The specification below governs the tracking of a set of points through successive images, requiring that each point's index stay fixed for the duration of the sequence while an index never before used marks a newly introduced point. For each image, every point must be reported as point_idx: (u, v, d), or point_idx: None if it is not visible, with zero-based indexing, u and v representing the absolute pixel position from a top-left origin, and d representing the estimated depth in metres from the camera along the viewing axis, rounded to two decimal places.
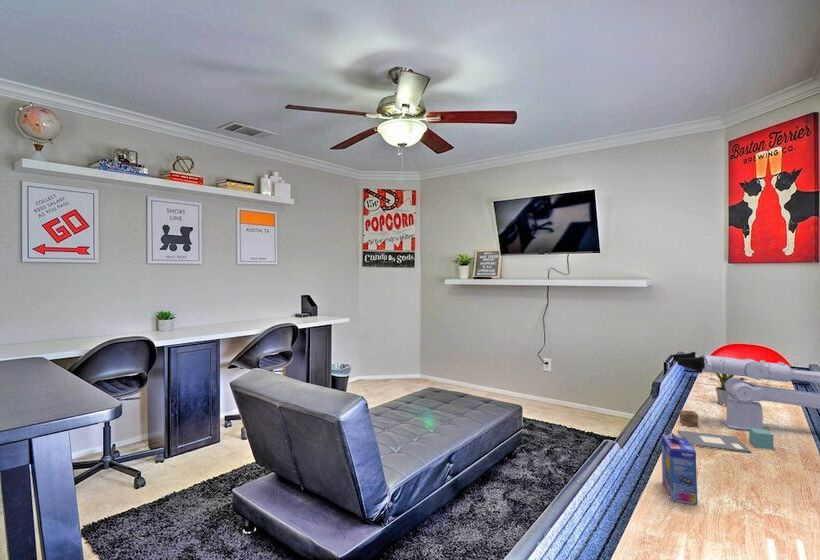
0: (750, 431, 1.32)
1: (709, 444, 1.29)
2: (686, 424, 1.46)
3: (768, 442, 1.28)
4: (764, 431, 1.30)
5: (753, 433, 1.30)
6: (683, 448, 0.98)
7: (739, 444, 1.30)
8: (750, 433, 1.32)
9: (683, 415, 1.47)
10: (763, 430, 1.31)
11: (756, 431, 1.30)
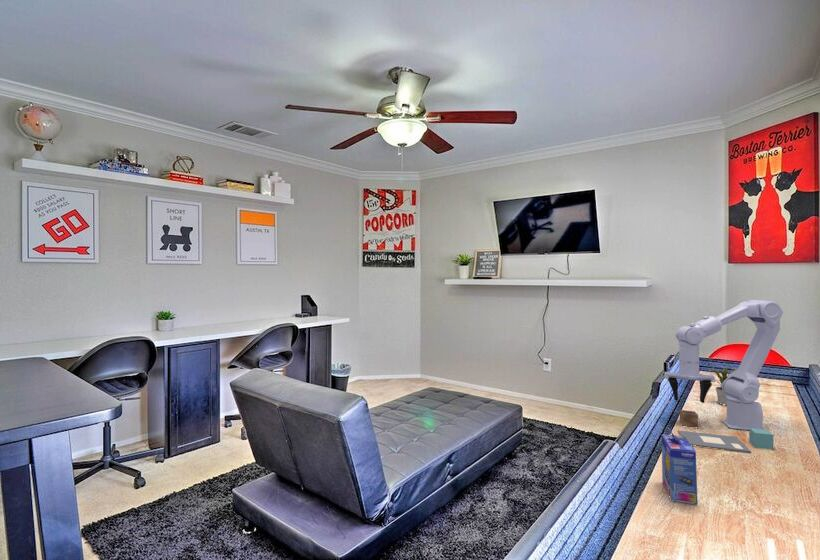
0: (750, 431, 1.32)
1: (709, 444, 1.29)
2: (686, 424, 1.46)
3: (768, 442, 1.28)
4: (764, 431, 1.30)
5: (754, 433, 1.30)
6: (683, 448, 0.98)
7: (739, 444, 1.30)
8: (750, 433, 1.32)
9: (683, 415, 1.47)
10: (763, 430, 1.31)
11: (756, 431, 1.30)
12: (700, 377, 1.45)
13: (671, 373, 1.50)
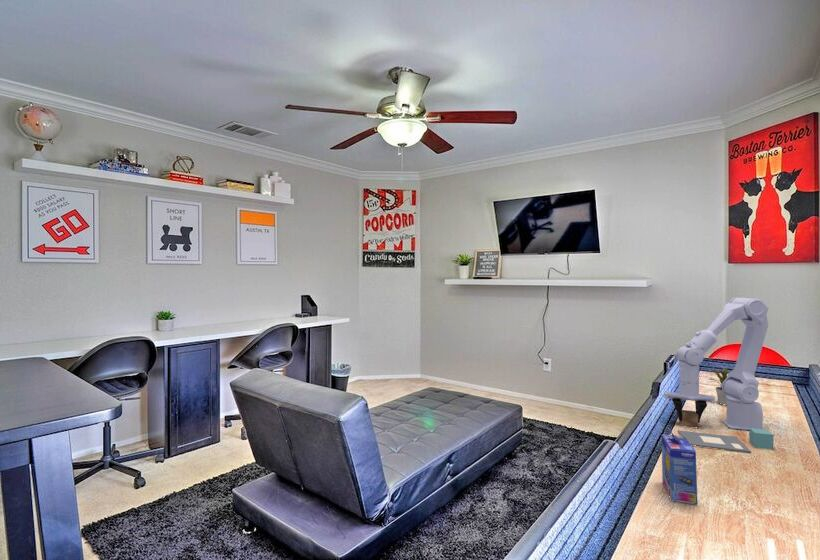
0: (750, 431, 1.32)
1: (709, 444, 1.29)
2: (686, 424, 1.46)
3: (768, 442, 1.28)
4: (764, 431, 1.30)
5: (753, 433, 1.30)
6: (683, 448, 0.98)
7: (739, 444, 1.30)
8: (750, 433, 1.32)
9: (683, 415, 1.47)
10: (763, 430, 1.31)
11: (756, 431, 1.30)
12: (700, 398, 1.45)
13: (671, 393, 1.50)
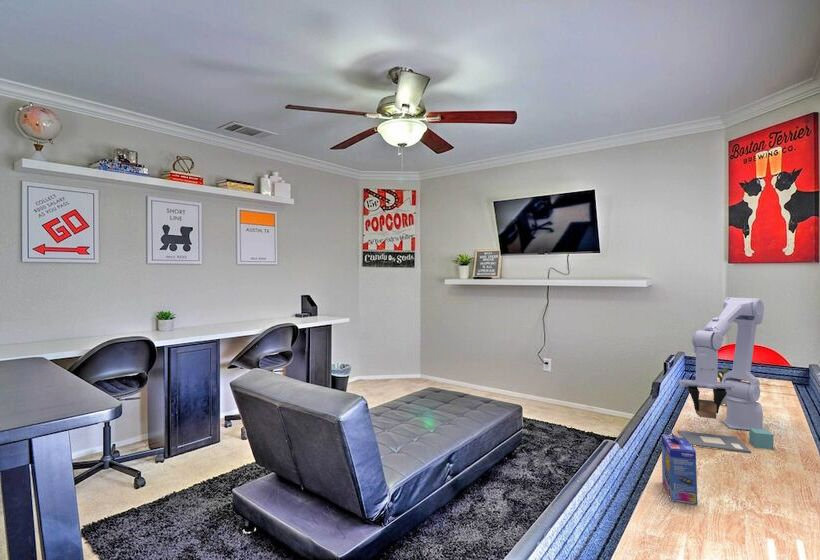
0: (750, 431, 1.32)
1: (709, 444, 1.29)
2: (703, 414, 1.35)
3: (768, 442, 1.28)
4: (764, 431, 1.30)
5: (753, 433, 1.30)
6: (683, 448, 0.98)
7: (739, 444, 1.30)
8: (750, 433, 1.32)
9: (700, 404, 1.35)
10: (763, 430, 1.31)
11: (756, 431, 1.30)
12: (719, 385, 1.33)
13: (687, 381, 1.38)
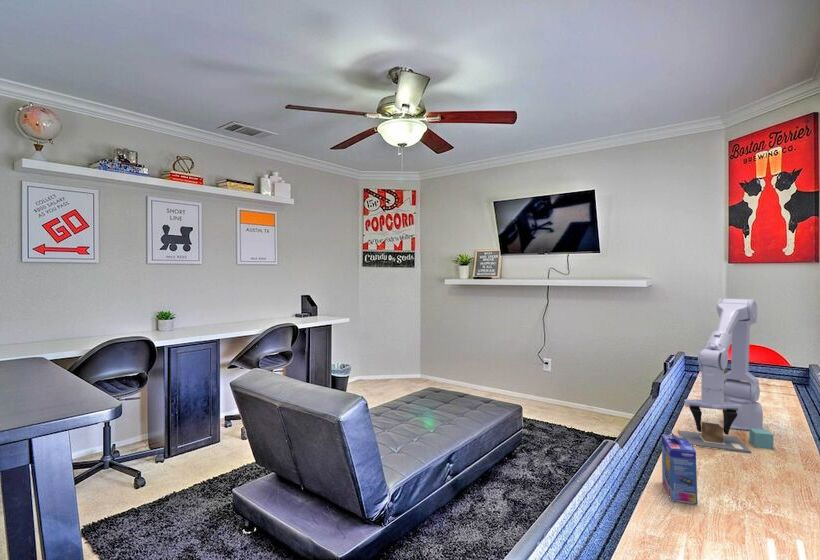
0: (750, 431, 1.32)
1: (709, 444, 1.29)
2: (709, 438, 1.31)
3: (768, 442, 1.28)
4: (764, 431, 1.30)
5: (753, 433, 1.30)
6: (683, 448, 0.98)
7: (739, 444, 1.30)
8: (750, 433, 1.32)
9: (706, 428, 1.32)
10: (763, 430, 1.31)
11: (756, 431, 1.30)
12: (725, 406, 1.30)
13: (692, 401, 1.35)
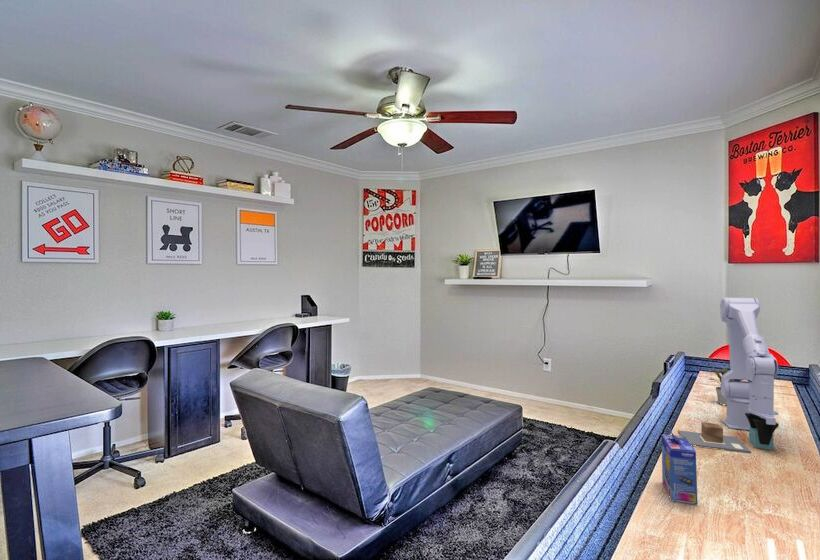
0: (750, 431, 1.32)
1: (709, 444, 1.29)
2: (709, 438, 1.31)
3: None
4: None
5: (753, 433, 1.30)
6: (683, 448, 0.98)
7: (739, 444, 1.30)
8: (750, 433, 1.32)
9: (706, 428, 1.32)
10: None
11: (756, 431, 1.30)
12: None
13: (768, 416, 1.25)
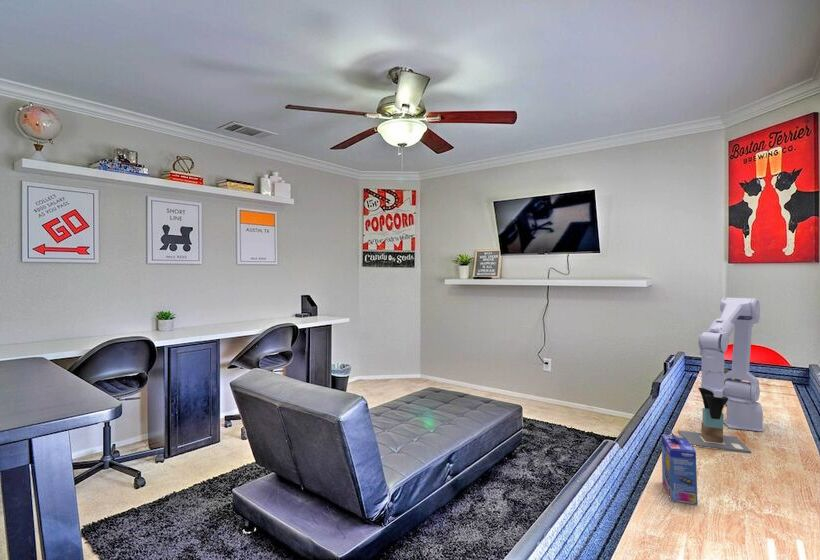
0: (703, 411, 1.35)
1: (709, 444, 1.29)
2: (709, 438, 1.31)
3: (718, 422, 1.30)
4: None
5: (705, 413, 1.32)
6: (683, 448, 0.98)
7: (739, 444, 1.30)
8: (703, 413, 1.35)
9: (706, 428, 1.32)
10: None
11: (708, 411, 1.33)
12: None
13: (717, 389, 1.28)
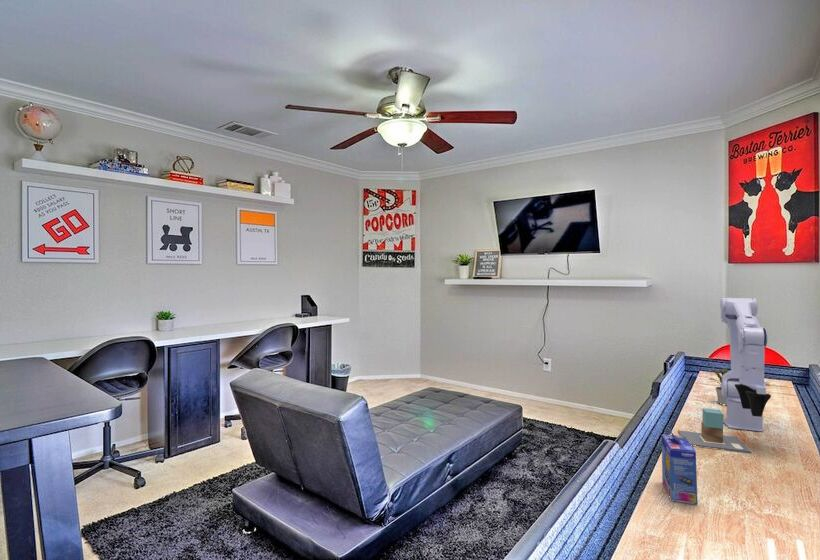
0: (703, 411, 1.35)
1: (709, 444, 1.29)
2: (709, 438, 1.31)
3: (718, 422, 1.30)
4: (715, 411, 1.32)
5: (705, 413, 1.32)
6: (683, 448, 0.98)
7: (739, 444, 1.30)
8: (703, 413, 1.35)
9: (706, 428, 1.32)
10: (715, 410, 1.33)
11: (708, 411, 1.33)
12: None
13: (759, 386, 1.24)
